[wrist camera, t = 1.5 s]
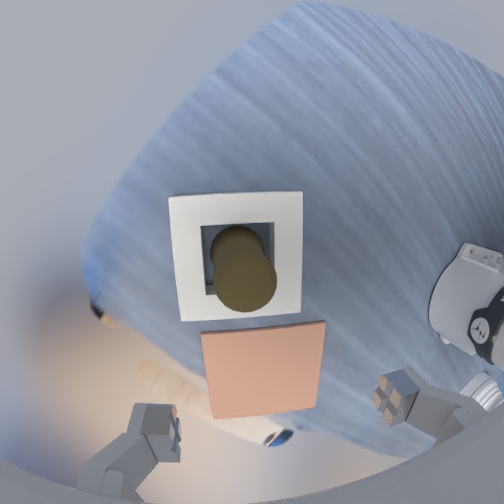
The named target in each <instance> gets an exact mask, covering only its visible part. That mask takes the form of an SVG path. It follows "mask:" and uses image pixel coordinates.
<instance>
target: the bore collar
mask: <svg viewBox="0 0 504 504" xmlns="http://www.w3.org/2000/svg"><path fill="white" fill-rule="evenodd" d="M168 200H169V215H170V228H171V239H172V250H173V260H174V269H175V278H176V286H177V294H178V301H179V308H180V315H181V321H201V320H219V319H234V318H247V317H259V316H270V315H280V314H290V313H299V312H301V289H302V251H303V192H301V191H251V192H226V193H207V194H192V195H178V196H171V197H169V198H168ZM263 222H269V258H270V262H271V263H272V264H273V266H274V268H275V271H276V274H277V288H276V291H275V294H274V296H273V297H272V299H271V300H270V302H269V303H268V304H266V305H265V306H264V307H262V308H261V309H259V310H256V311H253V312H245V313H242V312H237V311H233V310H231V309H229V308H228V307H226V306H225V305H224V304H223V303H222V302H221V301H220V300H219V299H218V297H217V295H216V293H215V290H214V285H206V274H205V262H204V249H203V234H202V226H205V225H222V224H241V223H263Z"/></svg>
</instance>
